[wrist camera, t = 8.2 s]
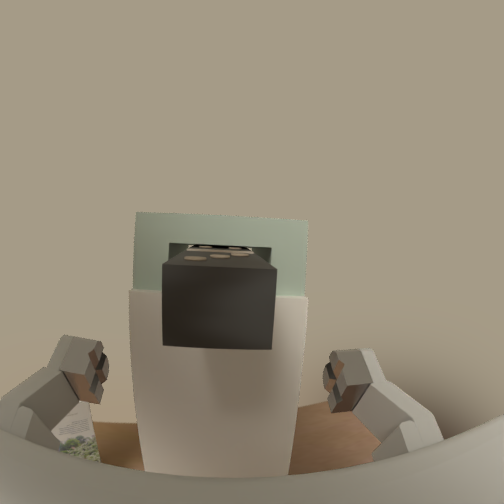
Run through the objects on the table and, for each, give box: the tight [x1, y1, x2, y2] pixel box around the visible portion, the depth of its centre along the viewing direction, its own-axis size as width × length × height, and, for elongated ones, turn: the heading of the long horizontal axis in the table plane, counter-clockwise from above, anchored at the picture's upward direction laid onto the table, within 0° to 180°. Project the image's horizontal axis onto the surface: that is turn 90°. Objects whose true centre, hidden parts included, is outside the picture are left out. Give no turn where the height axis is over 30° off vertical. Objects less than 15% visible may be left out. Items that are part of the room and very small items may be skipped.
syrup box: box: [51, 401, 101, 463], centre depth 26 cm, size 6×6×14 cm
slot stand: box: [129, 212, 308, 478], centre depth 27 cm, size 12×14×33 cm
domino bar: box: [162, 244, 277, 350], centre depth 17 cm, size 4×14×3 cm, turn 6°
